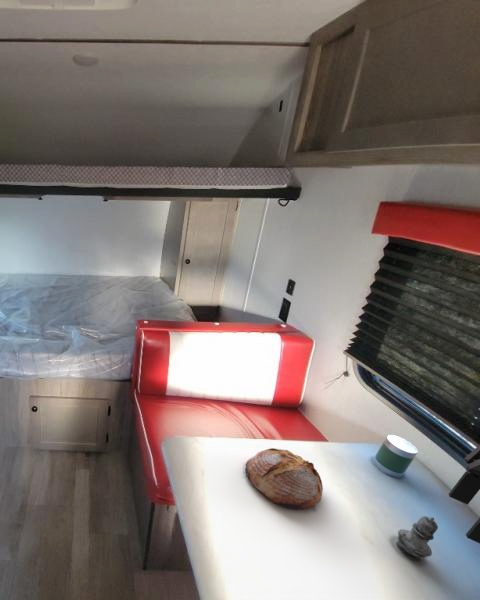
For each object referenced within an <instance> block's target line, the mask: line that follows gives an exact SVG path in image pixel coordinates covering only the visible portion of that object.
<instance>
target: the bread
mask: <svg viewBox="0 0 480 600" xmlns="http://www.w3.org/2000/svg"><path fill="white" fill-rule="evenodd" d="M244 470H245V474H246V475H245V476H246V477H248V479H249V480H250V483H251V485H252V486H254V487H255V489H257V490H258V491H259V492H260V493H261V494H262V495H264V496H265V497H266V498H268V500H270V501H272V502H273V503H274V504H276V505H278V506H280V507H284V508H288V509H293V510H307V509H312V508H313V507H315V506H317V504H318V503H320V502H321V500H322V496H323V490H324V488H323V486H324V485H323V481H322V478H321V475H320V474H319V472H318V470H317V469H316V468H315V464H314V463H313V462H309V460H305V459H303V458H302V456H300V455H297V454H294V453H293V452H292V451H289V450H288V449H282V448H273V447H270V448H268V449H264V450H261V451H259V452H257V453H256V454H255V455H254V456H252V457H250V458H249V459H248V460H247V461H246V462H245V468H244Z"/></svg>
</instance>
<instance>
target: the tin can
mask: <svg viewBox="0 0 480 600" xmlns="http://www.w3.org/2000/svg"><path fill="white" fill-rule="evenodd" d="M418 452H419V450H418V448H417V447H416V446H415V445H414V443H412V442H410V441H409V440H407V439H405V438H403V437H401V436H398V435H394V434H388V435H387V436H386V437H385V439H384V440H383V442H382V444H381V445H380V447H379V449H378V451H377V452H376V453H375V455H374V457H373V459H372V462H373V464H374V466H375V467H376V468H377V469H378V470H380V471H381V472H383V473H384V474H386V475H387V476H391V477H393V478H402V477H403V476H404V474H405V473H406V471H407V469H408V468H409V466H410V465H411V463H412V462H413V460H414V459H415V458H416V455H417V454H418Z"/></svg>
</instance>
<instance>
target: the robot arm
mask: <svg viewBox="0 0 480 600" xmlns="http://www.w3.org/2000/svg"><path fill="white" fill-rule="evenodd" d="M463 462H464V463H465V464H466V465H465V468H464V469H465V472H463V474H462V476H461V477H460V478H459V480H458V481H456V483H455V485H454V486H453V487H452V489H451V490H450V492H448V496H449V498H451V499H453V500H456V501H458V502H460V503H463V504H465V505H469V504H470V503H471V501H472V500H473V499H474V497H475V496H476V495H477V494H478V492H479V491H480V444H479V445H478V446H476V447H475V448H474V449H473V450H472V451H471V452H469V454H467V455H466V456H465V457H464V458H463ZM465 536H466V538H467V539H469V540H471V541H473V542H475V543H478V544H480V517H479V518H478V519H477V520H476V521H475V522H474V524H473V525H472V526H471V527H470V529H469V530H468V531H467V532H466V533H465Z"/></svg>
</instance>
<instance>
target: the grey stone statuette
mask: <svg viewBox="0 0 480 600" xmlns="http://www.w3.org/2000/svg"><path fill="white" fill-rule="evenodd" d="M411 526H412V528H411V529H410V530H408V529H403V528H402V529H399V530H398V532H397V540H396V541H395V542H394V543H395V546H396V549H397V550H398V552H400V553H401V555H403V556H404V557H406V558H407V559H408V560H411V561H413V562H417V563H418V562H421V561H422V558H423V559H424V558H427V557H430V556H432V554H433V550H432V548H431V547H430V545H429V544H428V543H429V542H430V541H433V540H434V538H435V537H434V534H435V533H436V532H437V530H438V529H439V525H438V524H437V522H436V521H435V518H434V517H429V516H425V515H424V516H421V517H420V518H419V520H418V521H417V522H415V523H412V525H411Z"/></svg>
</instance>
